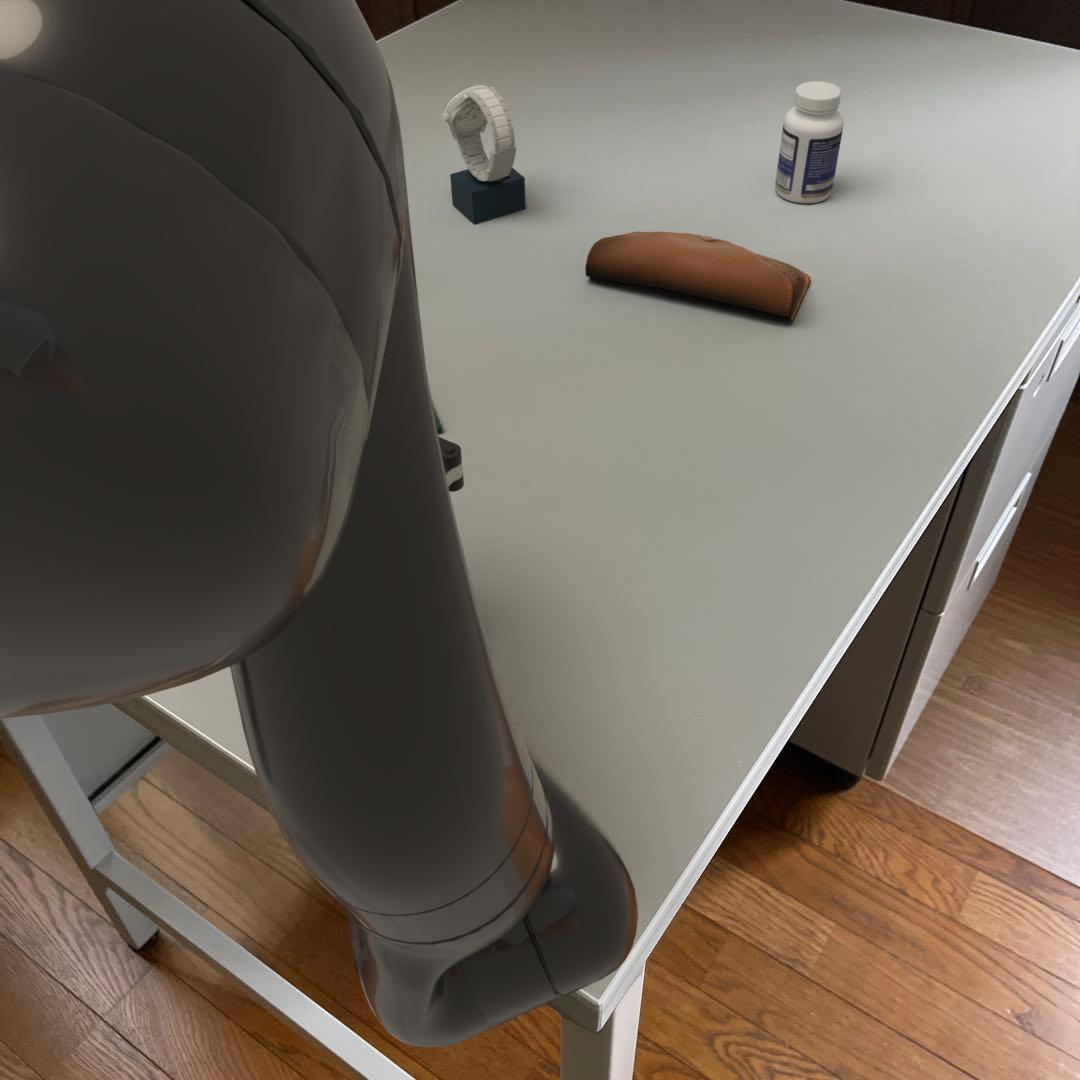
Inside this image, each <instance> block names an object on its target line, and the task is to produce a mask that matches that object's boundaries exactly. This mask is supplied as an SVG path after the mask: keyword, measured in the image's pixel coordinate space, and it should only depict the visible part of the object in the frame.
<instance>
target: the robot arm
mask: <svg viewBox="0 0 1080 1080" xmlns="http://www.w3.org/2000/svg"><path fill="white" fill-rule="evenodd" d="M386 65H387V64H386V63H385V59H384V57H383V54H382V51H381V49H380V47H379V44H378V43H377V41H376V39H375V37H374V35H373V32H372V31H371V29H370V27H369V25H368V23H367V20H366V19H365V17H364V16H363V14H362V11H361V10H360V8H359V6H358V4H357V2H356V0H0V719H8V718H18V717H19V718H20V717H31V716H40V715H49V714H55V713H61V712H69V711H74V710H75V711H76V710H83V709H90V708H94V707H100V706H105V705H110V704H115V703H120V702H125V701H129V700H135V699H139V698H141V697H146V696H149V695H153V694H156V693H159V692H163V691H166V690H170V689H173V688H177V687H180V686H184V685H187V684H190V683H193V682H196V681H199V680H201V679H203V678H206V677H208V676H211V675H213V674H215V673H218V672H220V671H223V670H225V669H227V668H229V669H230V673H231V678H232V683H233V684H232V685H233V687H234V692H235V698H236V702H237V707H238V712H239V716H240V720H241V725H242V729H243V730H242V731H243V735H244V739H245V741H246V746H247V750H248V753H249V757H250V759H251V762H252V766H253V768H254V771H255V775H256V778H257V781H258V783H259V786H260V789H261V792H262V795H263V798H264V801H265V803H266V806H267V809H268V810H269V813H270V815H271V817H272V820H273V821H274V823H275V825H276V827H277V829H278V830H279V833H280V834H281V836H282V837H283V839H284V841H285V842H286V844H287V846H288V847H289V849H290V851H291V852H292V853H293V855H294V856H295V858H296V859H297V860H298V862H299V863H300V864H301V865H302V867H304V869H305V870H306V871H307V872H308V873H309V875H311V876H312V878H313V879H315V881H316V882H317V883H318V884H319V885H320V886H321V887H322V888H323V889H324V890H325V891H326V892H327V893H328V894H329V895H330V896H331V898H333V899H334V900H335V901H336V903H337V904H339V906H340V907H341V908H343V909H344V911H346V912H347V914H348V915H347V916H348V933H349V941H350V948H351V952H352V953H351V954H352V958H353V963H354V967H355V971H356V976H357V979H358V982H359V985H360V988H361V990H362V993H363V995H364V998H365V1000H366V1002H367V1004H368V1006H369V1008H370V1009H371V1012H372V1013H373V1015H374V1017H375V1018H376V1019H377V1021H378V1022H379V1023H380V1024H381V1026H383V1028H384V1029H385V1030H386V1031H387V1033H388V1034H390V1035H391V1036H392V1037H394V1038H395V1039H397V1040H398V1041H400V1042H401V1043H403V1044H407V1045H409V1046H414V1047H417V1048H440V1047H441V1048H443V1047H447V1046H451V1045H454V1044H458V1043H461V1042H464V1041H466V1040H468V1039H469V1040H470V1039H471V1038H473V1037H476V1036H479V1035H480V1034H482V1033H484V1032H487V1031H489V1030H491V1029H492V1028H496V1027H498V1026H500V1025H503V1024H505V1023H507V1022H510V1021H511V1020H513V1019H516V1018H518V1017H520V1016H522V1015H525V1014H527V1013H529V1012H531V1011H534V1010H536V1009H538V1008H540V1007H542V1006H545V1005H547V1004H549V1003H552V1002H554V1001H555V1000H558V999H559V998H560V996H562V997H566V996H568V995H570V994H573V993H575V992H578V991H580V990H582V989H584V988H587V987H589V986H591V985H593V984H595V983H597V982H600V981H601V980H605V979H606V978H607V977H608V976H610V975H611V974H613V973H614V972H616V971H617V970H618V969H619V968H620V967H621V966H622V965H623V964H624V963H625V962H626V960H627V959H628V956H629V955H630V953H631V951H632V949H633V945H634V942H635V939H636V934H637V929H638V920H639V908H638V907H639V904H638V896H637V891H636V887H635V885H634V881H633V879H632V875H631V872H630V869H629V868H628V866H627V863H626V861H625V859H624V857H623V856H622V854H621V852H620V850H619V849H618V848H617V846H616V844H615V843H614V841H613V840H612V839H611V837H610V836H609V835H608V833H607V832H606V831H605V829H604V828H603V827H602V826H601V824H600V823H599V822H598V820H597V819H596V818H595V817H594V816H593V815H592V813H591V812H589V811H590V810H588V809H587V807H585V806H584V805H583V804H582V802H581V801H580V799H578V798H577V797H576V796H575V794H574V793H572V792H571V790H570V789H569V788H568V787H567V786H566V785H565V784H564V783H563V782H562V780H561V779H560V778H559V777H558V776H557V775H556V773H554V771H553V770H552V769H551V768H550V767H549V766H548V764H547V763H546V762H545V761H544V759H543V758H542V757H541V755H540V754H539V753H538V752H537V750H536V749H535V748H534V746H533V745H532V743H531V742H530V741H529V739H528V737H527V736H526V734H525V733H524V731H523V730H522V728H521V727H520V725H519V723H518V722H517V719H516V716H515V714H514V711H513V708H512V706H511V704H510V701H509V698H508V695H507V692H506V690H505V687H504V684H503V682H502V678H501V675H500V673H499V670H498V667H497V666H498V665H497V664H496V661H495V657H494V655H493V652H492V649H491V646H490V643H489V640H488V636H487V633H486V630H485V626H484V622H483V619H482V615H481V611H480V608H479V604H478V601H477V598H476V597H477V596H476V593H475V590H474V587H473V583H472V579H471V576H470V572H469V569H468V564H467V560H466V556H465V553H464V548H463V545H462V540H461V536H460V532H459V528H458V524H457V519H456V516H455V511H454V506H453V502H452V497H451V493H452V492H453V493H455V492H457V491H460V490H462V489H463V487H465V479H464V468H463V457H462V448H461V446H460V445H459V444H457V443H455V442H452V441H450V440H447V439H445V438H442V437H440V436H439V433H437V428H436V423H435V417H434V411H433V408H434V405H433V399H432V394H431V388H430V383H429V377H428V370H427V365H426V356H425V347H424V339H423V338H424V337H423V329H422V322H421V321H422V320H421V313H420V303H419V295H418V284H417V276H416V265H415V256H414V247H413V237H412V229H411V218H410V209H409V208H410V206H409V196H408V186H407V178H406V177H407V176H406V167H405V156H404V146H403V139H402V138H403V137H402V128H401V122H400V121H401V120H400V115H399V114H400V113H399V110H398V105H397V100H396V96H395V92H394V87H393V84H392V81H391V78H390V74H389V72H388V68H387V66H386ZM450 492H451V493H450Z"/></svg>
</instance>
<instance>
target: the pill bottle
mask: <svg viewBox="0 0 1080 1080" xmlns="http://www.w3.org/2000/svg"><path fill="white" fill-rule="evenodd" d="M841 96H842V90H841V88H840V87H839V86H838V85H837V84H833V83H831V82H827V81H817V80H815V81H806V82H803V83H801V84H799V85H798V86H797V87H796V88H795V94H794V100H793V102H794V103H793V105H794V107H792V108H791V109H790V110H788V111H787V113H786V114H785V116H784V119H783V124H782V130H781V131H782V132H781V139H780V145H779V153H778V159H777V167H776V175H775V184H774V188H775V192H776V193H777V194H778V196H780V197H781V198H782V199H784V200H786V201H789V202H792V203H798V204H816V203H820V202H823V201H825V200H826V199H828V198H829V197H830V195H831V194H832V192H833V188H834V184H835V183H834V182H835V176H836V170H837V165H838V159H839V154H840V148H841V142H842V136H843V132H844V124H845V123H844V117H843V115H842V114H841V112H839V110H838V109H839V107H840V104H841V98H842V97H841Z"/></svg>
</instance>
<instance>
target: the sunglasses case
mask: <svg viewBox="0 0 1080 1080" xmlns="http://www.w3.org/2000/svg"><path fill="white" fill-rule="evenodd" d="M584 269H585V276H586V278H594V279H600V280H606V281H613V282H621V283H625V284H637V285H640V286H645V287H657V288H662V289H664V290H668V291H673V292H677V293H681V294H685V295H688V296H695V297H701V298H706V299H711V300H714V301H716V302H717V301H718V302H720V303H721V302H722V303H725V304H730V305H735V306H740V307H744V308H749V309H753V310H756V311H762V312H764V313H765V312H766V313H770V314H773V315H777V316H781V317H787V319H788V320H790V321H792V322H794V320H795V318H796V317H797V315H798V312H799V310H800V308H801V306H802V303H803V301H804V299H805V297H806V293H807V291H808V289H809V287H810V284H811V276H810V275H809V274H808V273H805V272H804V271H802V270H801V269H799V268H797V267H796V266H794V265H791V264H789V263H787V262H784V261H781V260H778V259H775V258H773V257H769V256H766V255H763V254H760V253H755V252H753V251H752V250H750V249H747V248H745V247H743V246H741V245H738V244H735V243H732V242H731V241H728V240H725V239H719V238H714V237H711V236H706V235H700V234H696V233H688V232H671V231H632V232H627V233H623V234H617V235H611V236H606V237H605V236H604V237H602V238H600V239H598V240H597V241H596V242H594V243H593V244H592V246H591V247H590V250H589V251H588V254H587V257H586V262H585V268H584Z"/></svg>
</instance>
